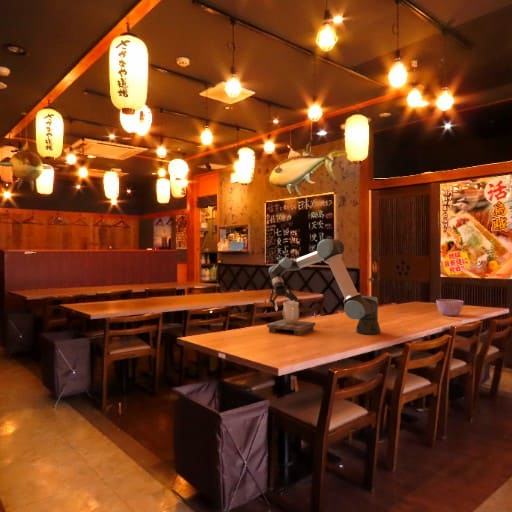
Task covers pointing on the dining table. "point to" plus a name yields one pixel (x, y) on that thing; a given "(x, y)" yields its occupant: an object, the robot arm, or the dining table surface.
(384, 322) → the dining table surface
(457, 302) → the purple bowl
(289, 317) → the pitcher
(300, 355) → the dining table surface
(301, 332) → the serving board
